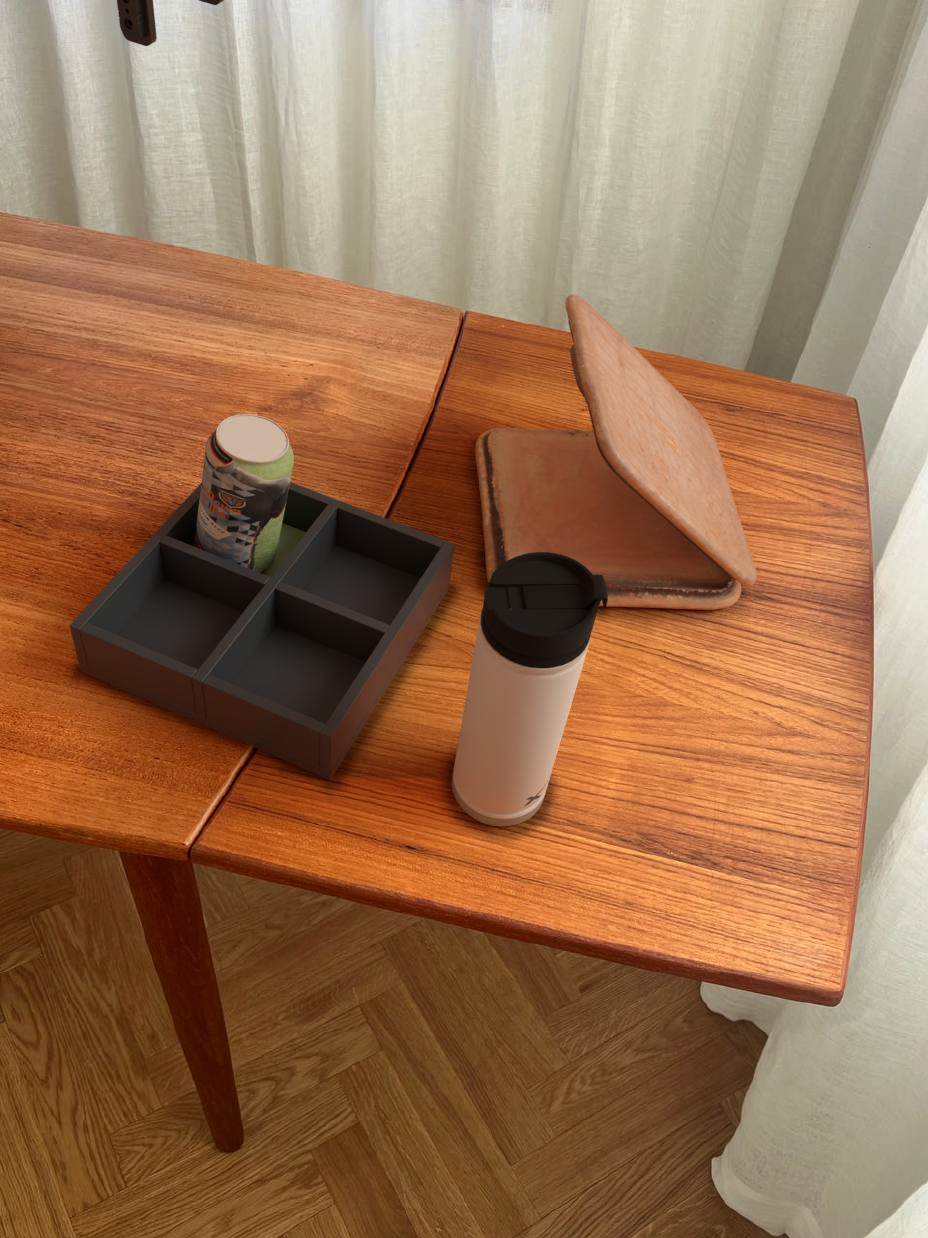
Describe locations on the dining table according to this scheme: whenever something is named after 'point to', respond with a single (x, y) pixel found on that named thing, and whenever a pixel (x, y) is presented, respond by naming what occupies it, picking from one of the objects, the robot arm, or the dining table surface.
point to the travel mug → (523, 683)
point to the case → (619, 485)
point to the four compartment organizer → (270, 626)
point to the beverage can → (244, 491)
